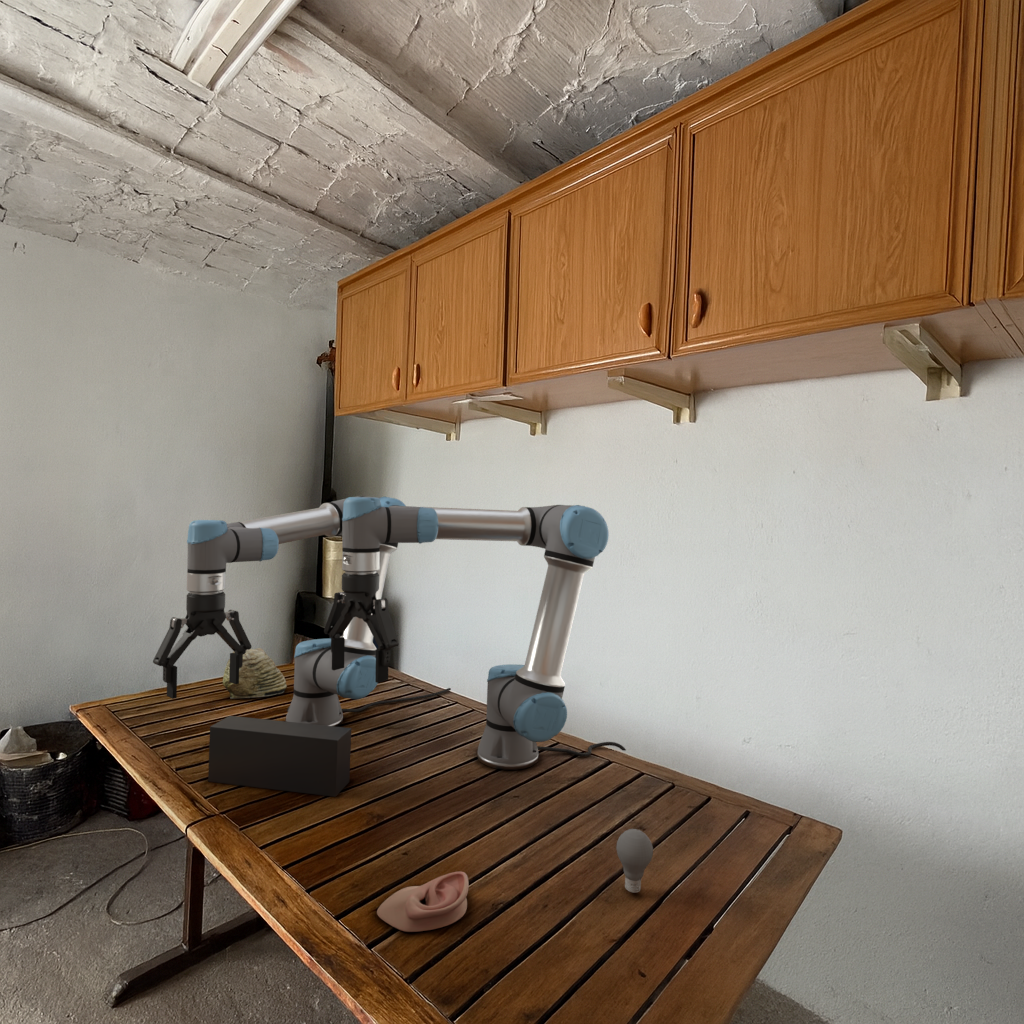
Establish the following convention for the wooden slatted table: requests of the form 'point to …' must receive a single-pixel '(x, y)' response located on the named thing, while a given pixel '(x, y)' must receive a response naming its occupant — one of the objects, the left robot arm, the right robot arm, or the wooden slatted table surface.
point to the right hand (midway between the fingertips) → (359, 674)
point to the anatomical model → (427, 904)
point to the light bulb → (634, 857)
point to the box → (280, 755)
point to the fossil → (255, 676)
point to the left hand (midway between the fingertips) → (204, 689)
